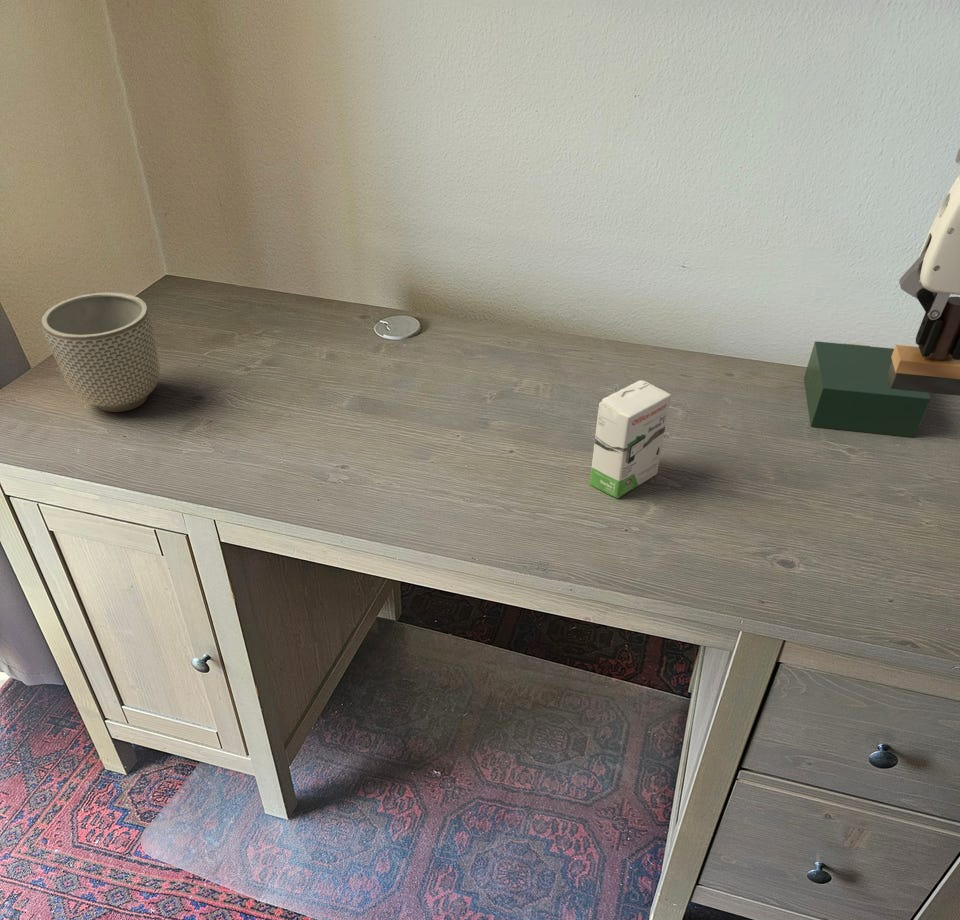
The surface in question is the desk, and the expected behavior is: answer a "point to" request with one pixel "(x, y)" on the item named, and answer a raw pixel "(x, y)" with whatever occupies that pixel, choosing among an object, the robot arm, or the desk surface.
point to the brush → (930, 360)
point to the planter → (105, 348)
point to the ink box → (629, 438)
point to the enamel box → (859, 392)
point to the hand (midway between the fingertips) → (938, 351)
